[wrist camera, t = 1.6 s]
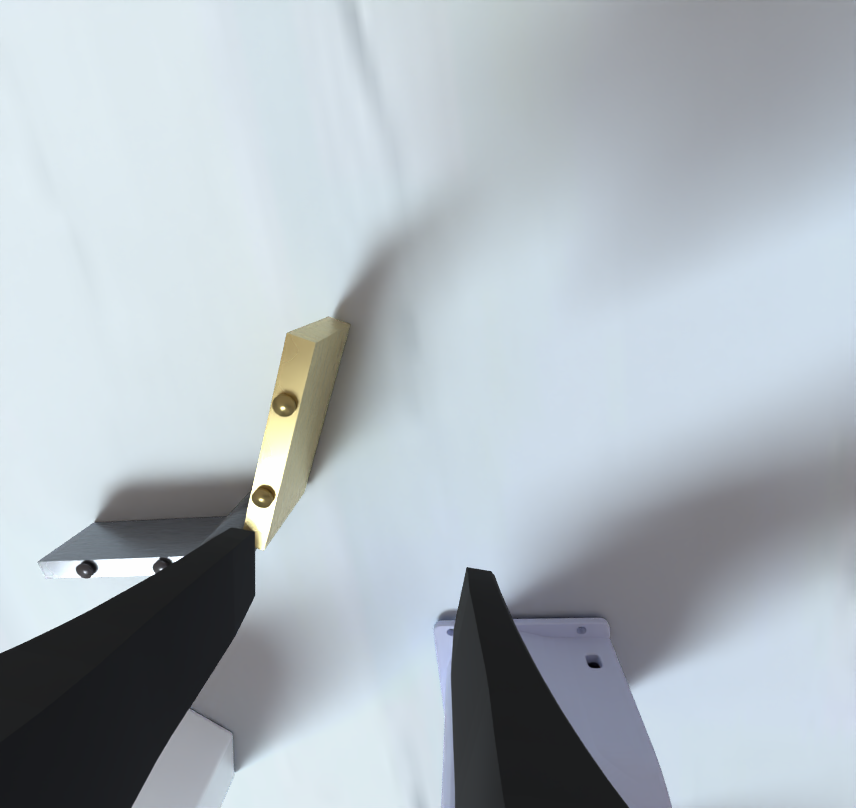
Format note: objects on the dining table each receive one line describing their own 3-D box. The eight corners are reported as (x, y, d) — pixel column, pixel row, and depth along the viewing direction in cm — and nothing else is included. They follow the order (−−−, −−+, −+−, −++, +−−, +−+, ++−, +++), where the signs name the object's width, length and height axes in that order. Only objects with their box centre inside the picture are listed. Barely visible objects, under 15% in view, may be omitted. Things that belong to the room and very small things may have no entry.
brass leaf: (304, 492, 21) (261, 553, 16) (285, 485, 21) (237, 545, 16) (350, 324, 18) (313, 343, 13) (328, 316, 18) (284, 333, 13)
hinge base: (285, 478, 21) (211, 568, 15) (298, 529, 22) (232, 634, 16) (79, 489, 22) (-70, 577, 16) (99, 537, 23) (-34, 637, 17)
